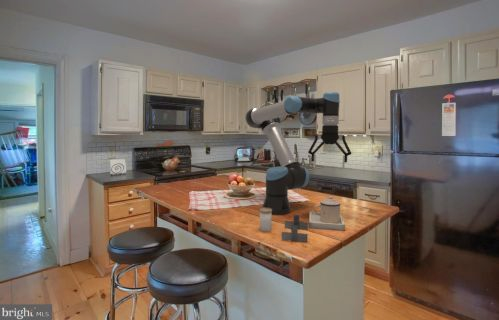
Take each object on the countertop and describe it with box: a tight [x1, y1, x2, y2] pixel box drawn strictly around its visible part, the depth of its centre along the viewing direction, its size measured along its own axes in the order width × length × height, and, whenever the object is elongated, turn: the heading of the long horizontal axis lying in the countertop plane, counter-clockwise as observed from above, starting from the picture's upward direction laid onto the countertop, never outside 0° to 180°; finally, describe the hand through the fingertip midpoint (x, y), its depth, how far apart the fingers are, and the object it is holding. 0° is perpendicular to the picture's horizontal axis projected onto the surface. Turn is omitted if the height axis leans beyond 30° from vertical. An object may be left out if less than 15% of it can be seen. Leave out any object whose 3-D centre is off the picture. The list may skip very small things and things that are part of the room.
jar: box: [259, 207, 273, 232], centre depth 121 cm, size 5×5×9 cm
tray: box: [308, 210, 346, 232], centre depth 130 cm, size 15×18×2 cm
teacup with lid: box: [313, 195, 341, 224], centre depth 130 cm, size 12×9×12 cm
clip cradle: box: [280, 214, 309, 243], centre depth 115 cm, size 10×15×6 cm, turn 167°
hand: (328, 168), depth 137 cm, fingers open, 13 cm apart
